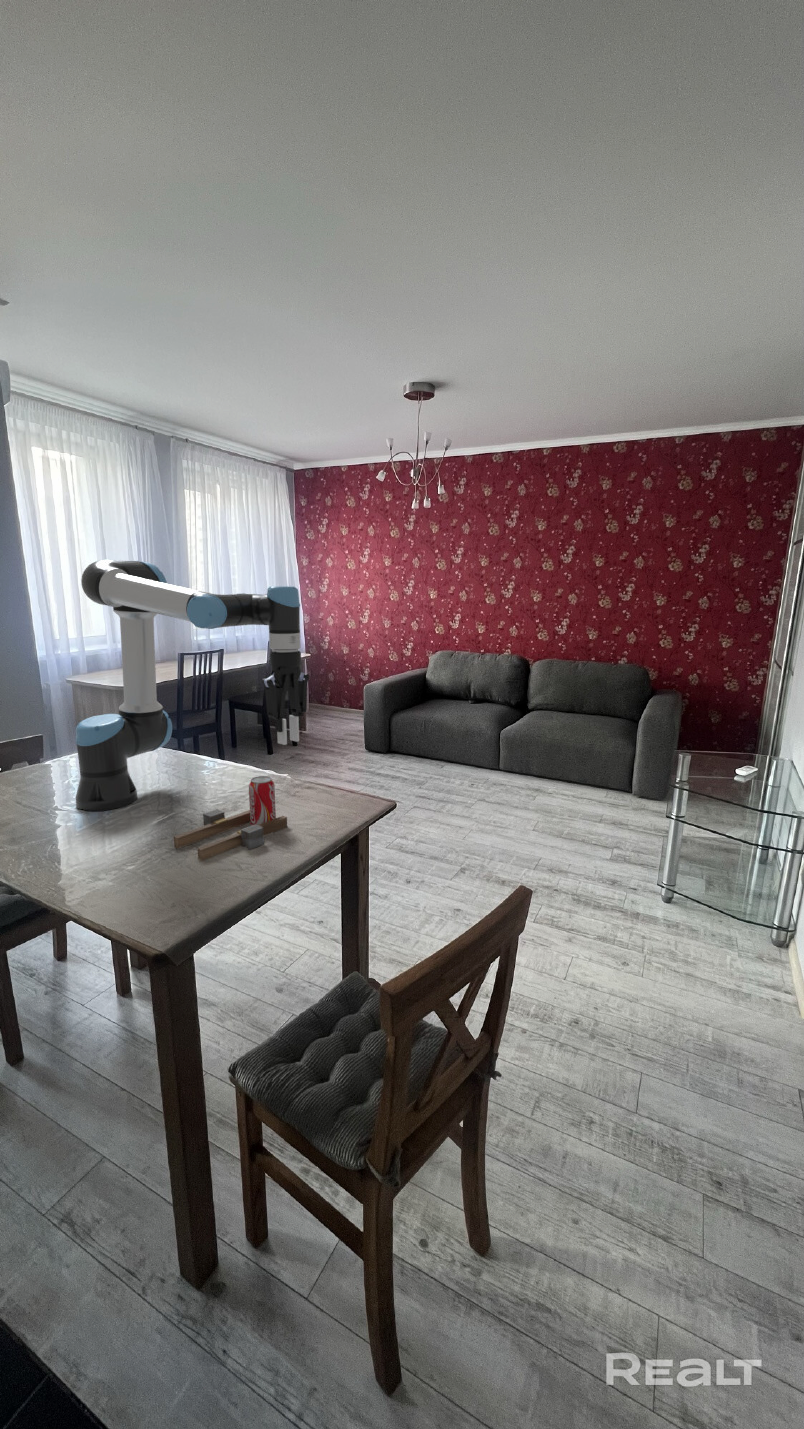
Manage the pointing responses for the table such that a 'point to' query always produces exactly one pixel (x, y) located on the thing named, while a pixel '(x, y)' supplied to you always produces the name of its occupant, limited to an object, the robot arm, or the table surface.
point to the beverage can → (262, 800)
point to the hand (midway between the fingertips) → (288, 742)
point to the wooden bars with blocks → (219, 823)
